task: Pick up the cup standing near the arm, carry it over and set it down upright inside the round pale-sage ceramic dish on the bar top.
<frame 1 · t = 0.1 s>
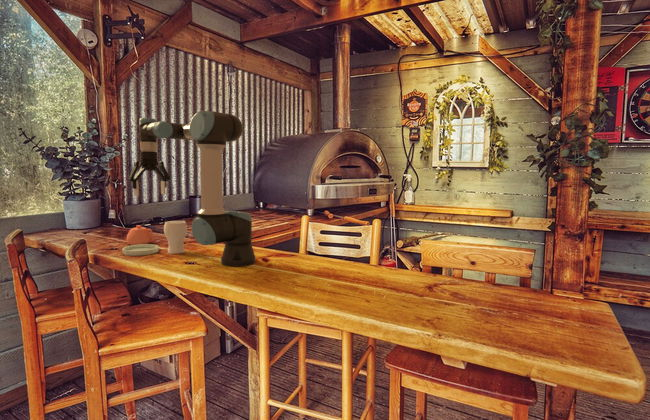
hand: (150, 195, 191), 28 cm above the table, fingers open, 13 cm apart
cup: (176, 252, 193), on the table
sugar bowl: (140, 244, 209), on the table
dish: (140, 251, 192), on the table
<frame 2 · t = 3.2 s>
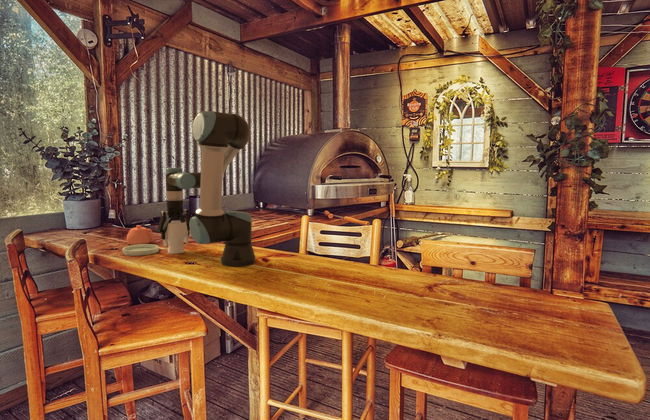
hand: (176, 244, 193), 4 cm above the table, fingers closed on cup, 11 cm apart
cup: (176, 252, 193), on the table, touching gripper
everything else where it was.
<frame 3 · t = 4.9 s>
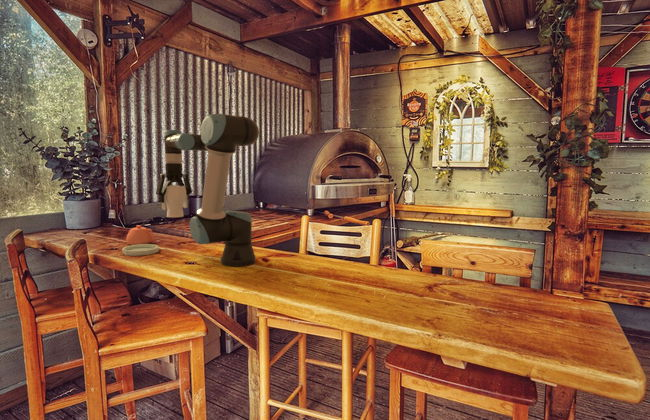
hand: (175, 208, 190), 22 cm above the table, fingers closed on cup, 11 cm apart
cup: (175, 217, 191), point 18 cm above the table, touching gripper
everything else where it was.
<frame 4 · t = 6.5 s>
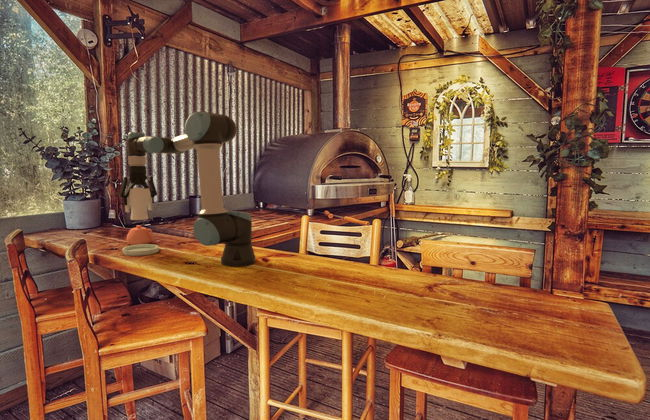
hand: (139, 211, 190), 20 cm above the table, fingers closed on cup, 11 cm apart
cup: (139, 219, 190), point 16 cm above the table, touching gripper
everything else where it was.
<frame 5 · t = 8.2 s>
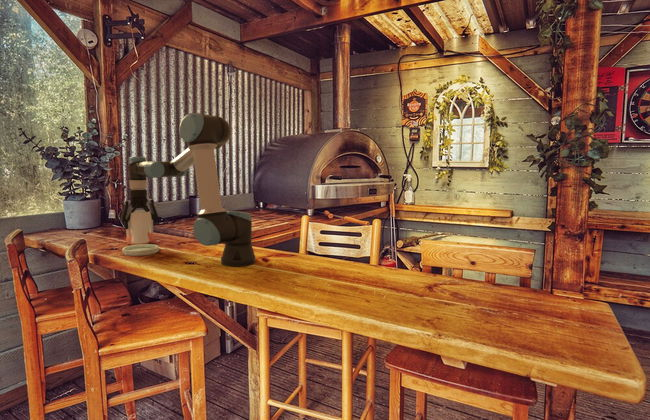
hand: (140, 234, 191), 9 cm above the table, fingers closed on cup, 11 cm apart
cup: (140, 242, 192), point 5 cm above the table, touching gripper
everything else where it was.
when the fingers open (6 cm above the table, at t = 9.8 s): cup drops 2 cm, resting on dish.
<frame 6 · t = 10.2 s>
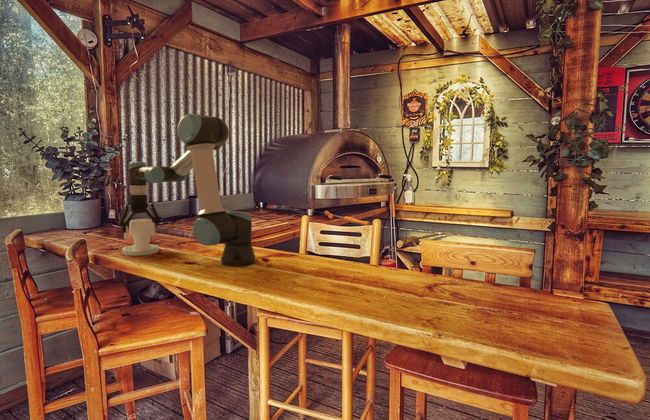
hand: (140, 237, 191), 7 cm above the table, fingers open, 13 cm apart
cup: (142, 250, 193), resting on dish
everything else where it was.
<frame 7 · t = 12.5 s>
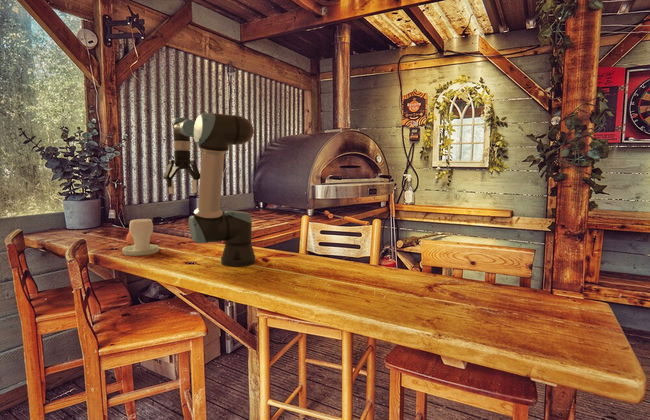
hand: (183, 193, 195), 29 cm above the table, fingers open, 13 cm apart
nothing on the table moved.
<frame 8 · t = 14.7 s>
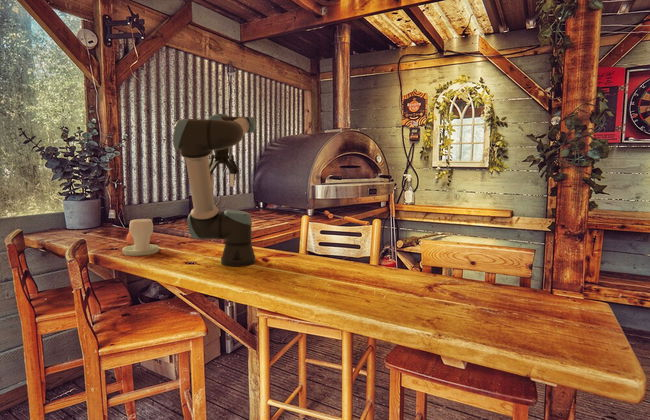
hand: (222, 187, 202), 32 cm above the table, fingers open, 13 cm apart
nothing on the table moved.
at the end: cup 0.7 cm from the dish (horizontally); cup tilted 0°; cup touching dish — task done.
